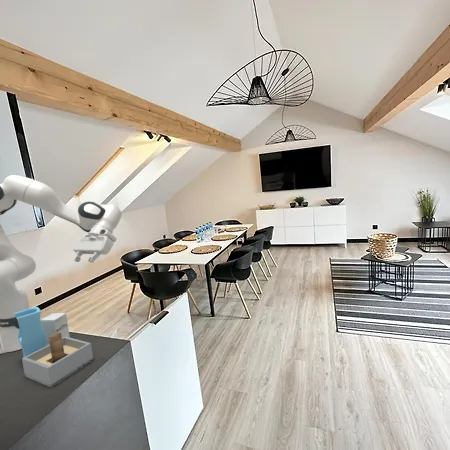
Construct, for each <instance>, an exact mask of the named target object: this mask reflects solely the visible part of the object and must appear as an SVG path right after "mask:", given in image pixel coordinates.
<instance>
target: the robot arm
mask: <svg viewBox="0 0 450 450" xmlns="http://www.w3.org/2000/svg"><path fill="white" fill-rule="evenodd" d="M17 201H19V202H21V203H25V204H27V205H31V206H33V207H35V208H37V209H41V210H44V211H45V212H48V213H49V214H51V215H52V214H53V215H54V216H56V217H58V218H61V219H63V220H65V221H67V222H70V223H72V224H74V225H76V226H78V227H79V228H80V229H81V230H82V231H83V232H86V233H88V234H86V235H85V236H82V237H81V238H79V240H78V241H77V242H76V244H74V246H73V248H72V251H74V252H75V257H74V259H73V260H74V262H76V263H79V262H80V261H81V260H82V258H81V257H82V256H83V255H92V256H91V257H89V259H88V260H87V261H88V262H89V263H91V264H93V263H94V262H95V261H96V260H97V259H98V258H99V257H100V256H101V255H105V256H106V255H107V254H109V253H110V251H111V249H112V248H113V246H114V245H115V243H116V241H117V237H116V236H115V235H114V234H113V233H114V230H115V229H116V228H117V226H118V225H119V223H120V221H121V219H122V216H123V215H122V210H121V209H120V208H119V207H118V205H115V204H114V203H113V204H112V203H108V204H103V203H96V202H94V201H85V202H82V203H81V204H80V205H79V206H78V208H77V209H75V208H73V207H71V206H68V205H66V204H65V203H64V202H63V201H62V200H61V199H60V198H59V197H58V195H57V194H56V192H55V190H54V189H53V188H52V187H50V186H49V185H47V184H46V183H44V182H41V181H38V180H37V179H36V180H35V179H34V178H30V177H27V176H22V175H18V174H11V175H8V176H6V177H5V178H4V180H3V181H2V182H1V183H0V216H2V215H4V214H5V213H6V212H7V211H10V210H11V209H13V208H14V207H15V206H16V204H17ZM36 268H37V264H36V261H35V259H34V258H33V257H32V256H30V255H27V254H24V253H23V252H22V251H20V250H18V248H16V247H15V246H14V245H13V244H12V242H11V241H10V239H9V238H8V236H7V234H6V232H5V230H4V229H3V226H2V224H1V223H0V354H1V355H2V354H5V353H11V352H14V351H19V350H22V347H21V344H20V342H19V339H18V336H19V323H18V320H17V318H16V316H15V314H14V313H16V312H19V311H23V310H26V309H30V303H29V302H30V301H29V297H28V294H27V292H25V291H23V290H19V289H18V288H17V286H16V282H18V281H22V280H23V279H25V278H28V277H29V276H30V275H32V274H33V273H34V272H35V271H36Z"/></svg>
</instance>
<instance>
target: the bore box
mask: <svg viewBox="0 0 450 450" xmlns="http://www.w3.org/2000/svg"><path fill="white" fill-rule="evenodd" d="M62 342H63V348H64V354H65V357H64V358H62V359H60V360H58V361H57V362H55V363H53V361H52V355H51V349H50V344H49V345H47V346H45V347H43V348H41V349H39V350H38V351H36V352H34V353H32V354H30V355H28V356H26V357H24V358H23V357H22V358H21V360H22V367H23V371H24V377H25V378H27V379H30V380H32V381H34V382H37V383H39V384H42V385H44V386H46V387H48V388H50V389H52V388H53V387H55V386H56V385H58V384H60V382H63V381H64V380H66V378H68V377H70V376H72V375H73V374H74V373H76V372H78V371H79V370H81V369H83V368H84V367H86V366H87V365H88V364H90V363H92V362H93V361H94V356H93V349H92V343H91V342H88V341H83V340H80V339H76V338H73V337H70V338H69V337H66V336H65V337H63V338H62Z"/></svg>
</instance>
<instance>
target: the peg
mask: <svg viewBox="0 0 450 450" xmlns="http://www.w3.org/2000/svg"><path fill="white" fill-rule="evenodd" d="M49 343H50V349H51V355H52V361H53V363H55V362H57V361H58V360H60V359H62V358H64V357H65V354H64V348H63V342H62V336H61V333H54V334H51V335H50V336H49Z"/></svg>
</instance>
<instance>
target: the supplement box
mask: <svg viewBox="0 0 450 450" xmlns="http://www.w3.org/2000/svg"><path fill="white" fill-rule="evenodd" d="M40 322H41V326H42V329H43V331H44V333H45V335H46V346H47V345H49V344H50V343H49V336H50V335H51V334H54V333H61V336H62V338H63V337H65V336H66V337H69V338H71V337H70V330H69V325H68V324H69V323H68V318H67V313H66V312H53V313H51V314H49V315H47V316H46V317H45V316H44V317H43V318H40Z"/></svg>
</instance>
